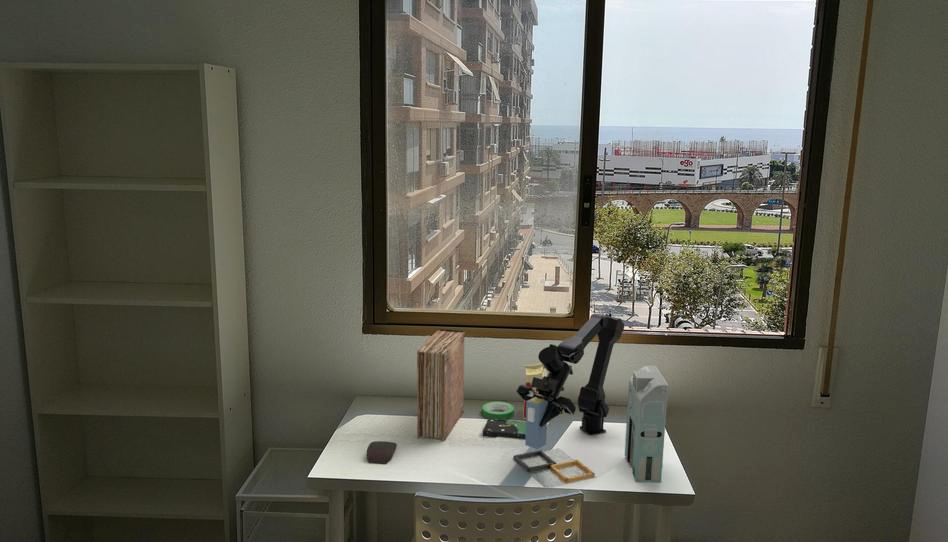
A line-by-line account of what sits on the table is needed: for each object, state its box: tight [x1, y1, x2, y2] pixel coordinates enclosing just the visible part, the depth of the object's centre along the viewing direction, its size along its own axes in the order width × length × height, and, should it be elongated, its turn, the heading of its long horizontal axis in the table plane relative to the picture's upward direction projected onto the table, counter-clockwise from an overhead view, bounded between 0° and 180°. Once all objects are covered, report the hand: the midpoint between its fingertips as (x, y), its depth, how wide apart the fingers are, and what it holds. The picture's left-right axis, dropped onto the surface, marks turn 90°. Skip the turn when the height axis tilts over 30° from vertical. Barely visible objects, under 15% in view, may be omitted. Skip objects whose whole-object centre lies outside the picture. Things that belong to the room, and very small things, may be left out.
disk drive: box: [482, 418, 526, 440], centre depth 259 cm, size 10×3×15 cm
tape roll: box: [482, 401, 515, 420], centre depth 274 cm, size 11×11×3 cm
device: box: [624, 365, 669, 483], centre depth 231 cm, size 16×8×30 cm, turn 0°
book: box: [416, 328, 465, 442], centre depth 261 cm, size 25×9×30 cm, turn 166°
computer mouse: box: [365, 440, 397, 465], centre depth 242 cm, size 8×14×4 cm, turn 175°
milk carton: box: [522, 362, 548, 421], centre depth 271 cm, size 9×9×20 cm
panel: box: [511, 448, 597, 489], centre depth 234 cm, size 17×21×2 cm
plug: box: [524, 397, 548, 450], centre depth 234 cm, size 6×4×14 cm
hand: (533, 424), depth 233 cm, fingers closed on plug, 4 cm apart
